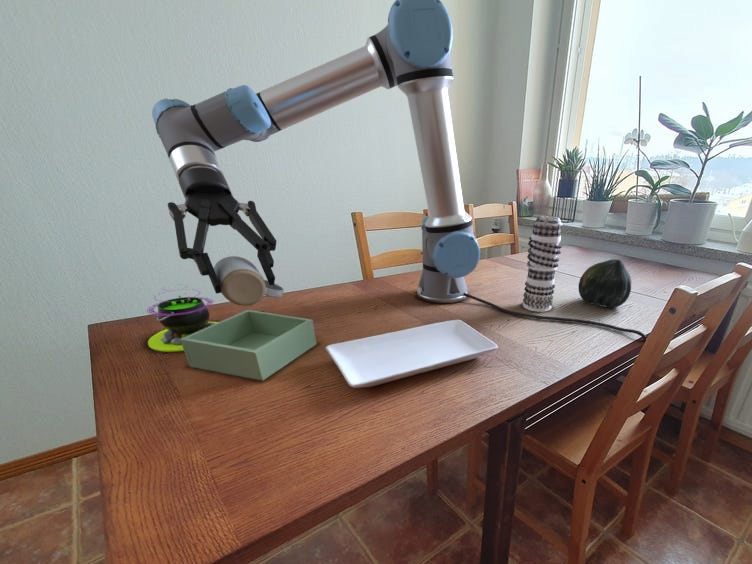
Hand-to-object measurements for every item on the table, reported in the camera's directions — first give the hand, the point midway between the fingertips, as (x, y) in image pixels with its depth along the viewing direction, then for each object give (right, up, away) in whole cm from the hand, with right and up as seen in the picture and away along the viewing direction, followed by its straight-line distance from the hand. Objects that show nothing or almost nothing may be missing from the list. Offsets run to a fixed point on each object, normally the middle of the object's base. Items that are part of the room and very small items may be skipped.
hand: (246, 285), depth 68 cm
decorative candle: (+59, +2, +43) cm, 73 cm away
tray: (+29, -14, +10) cm, 34 cm away
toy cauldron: (-21, -8, +14) cm, 27 cm away
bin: (-3, -12, +9) cm, 16 cm away
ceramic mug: (-2, -2, +5) cm, 5 cm away
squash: (+80, +4, +48) cm, 93 cm away
